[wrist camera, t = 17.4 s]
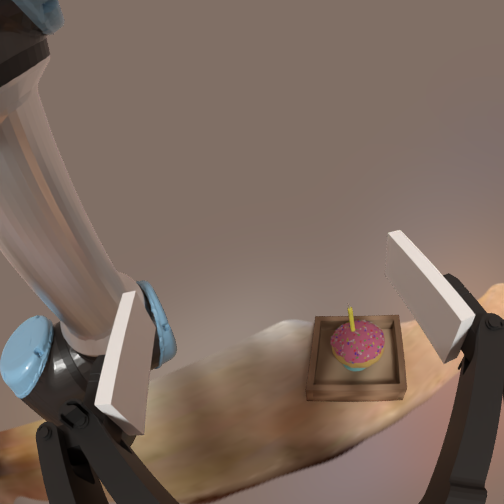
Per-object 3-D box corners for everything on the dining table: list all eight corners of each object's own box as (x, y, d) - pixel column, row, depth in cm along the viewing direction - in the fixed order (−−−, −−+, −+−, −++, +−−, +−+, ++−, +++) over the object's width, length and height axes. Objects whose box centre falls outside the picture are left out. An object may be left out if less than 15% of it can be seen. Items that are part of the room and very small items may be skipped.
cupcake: (321, 367, 47) (318, 317, 40) (347, 333, 51) (348, 281, 45) (366, 389, 41) (375, 341, 35) (390, 350, 46) (400, 299, 39)
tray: (306, 400, 43) (305, 389, 41) (316, 329, 55) (315, 316, 53) (402, 399, 39) (406, 388, 37) (396, 327, 51) (398, 314, 49)
